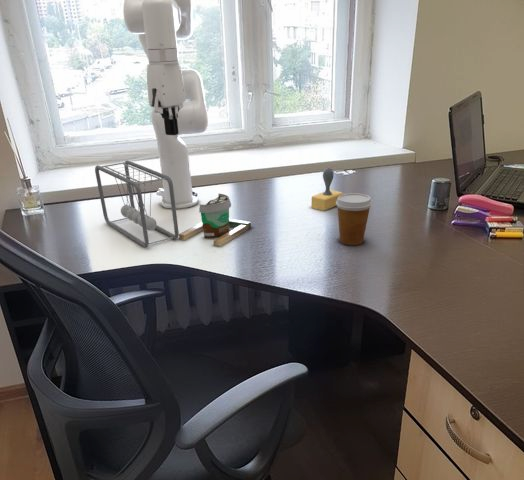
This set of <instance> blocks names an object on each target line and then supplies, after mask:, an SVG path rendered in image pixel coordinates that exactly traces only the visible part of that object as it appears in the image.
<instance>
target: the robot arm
mask: <svg viewBox="0 0 524 480" xmlns="http://www.w3.org/2000/svg"><path fill="white" fill-rule="evenodd" d="M193 7H194V6H193V0H124V2H123V10H122V11H123V20H124V23H125V26H126V28H127V30H128V31H129V32H130V33H131V34H133V35H134V34H135V35H137V36H138V40H139V43H140V45H141V47H142V50H143V52H144V54H145V56H146V57H147V60H148V64H147V66H146V86H147V97H148V104H149V106H150V107H151V111H150V118H151V123H152V127H153V130H154V134H155V139H156V144H157V150H158V158H159V164H160V173H161V174H164V175H166V176H169V177H170V178H171V180H172V183H173V189H174V197H175V206H176V210H178V209H186V208H190V207H193V206H195V205H197V204H198V203H199V199H198V197H196V196H195V195H194V194H193V185H192V175H191V166H190V156H189V148H188V146H187V144H186V142H184V141H183V140H182V138H180V137H179V136H182V135H193V134H202V133H204V132H206V131H207V129H208V126H209V125H208V124H209V121H208V119H209V118H208V111H207V105H206V104H207V103H206V96H205V90H204V82H203V80H202V76H201V74H200V72H199V71H197V70H196V69H189V68H185V69H182V68H181V65H180V60H179V51H178V41H180V40H182V41H183V40H187V39H189V38H191V36H192V35H193V33H194V32H193V31H194V17H193V16H194V15H193V14H194V13H193V11H194V8H193ZM161 181H162V188H160V187H159V188H158V189H157V191H156V192H155V193H156V196H157V197H161V198H162V199H161V200H160V206H161V207H163V208H166V209H172V207H171V199H170V191H169V184H168V182H167V180H165V179H164V180H161Z"/></svg>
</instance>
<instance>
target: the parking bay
mask: <svg viewBox="0 0 524 480" xmlns="http://www.w3.org/2000/svg"><path fill="white" fill-rule="evenodd" d="M229 228H232V229H231V230H229V232H228V233H226V234H224V235H222V236H221V237H219V238H215V239H214V240H213V246H214V247H220V248H221V247H222V246H223V245H225V244H227V243H228V242H230V241H232V240H233V239H235V238H237V237H238V236H240V235H241V234H243V233H245V232H246V231H248V230H250V229H252V222H251V221H247V220H242V219H241V220H240V219H236V218H235V219H233V218H229ZM202 231H203V225H202V221H201V222H199V223H197V224H196V225H193V226H192V227H190V228H187V229H185V230H183V231H182V232H179V236H178V239H179V240H182V241H186V240H188V239H190V238H191V237H194V236H195V235H197V234H199V233H200V232H202ZM203 232H204V231H203Z"/></svg>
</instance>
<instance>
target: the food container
mask: <svg viewBox="0 0 524 480" xmlns="http://www.w3.org/2000/svg"><path fill="white" fill-rule="evenodd" d="M231 207H232V202H231V199H230V197H229V196H228V195H227V194H224V193H218V196H217V197H216V198H214V199H211V200H209V201H207V203H205V204H199V208H198V213H200V218H201V222H202V225H203V238H204V239H217V238H219V237H221V236H222V235H224V234H226V233H228V232H229V231H230V227H229V219H230V208H231Z"/></svg>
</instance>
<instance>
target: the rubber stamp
mask: <svg viewBox="0 0 524 480" xmlns="http://www.w3.org/2000/svg"><path fill="white" fill-rule="evenodd" d="M334 175H335V173H334V171H333V169H332V168H330V167H327V168H325V169H323V172H322V179H323V183H324V184H325V191H322V192H320V193H317V194H315V195H311V209H314V210H319V211H323V212H324V211H327V210H330V209H332V208H336V207H337V205H336V201H337V199H338V197H339V196H340V195H343V194H344V192H342V191H337V190H333V189H332V190H331V185H332V183H333V180H334Z"/></svg>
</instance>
